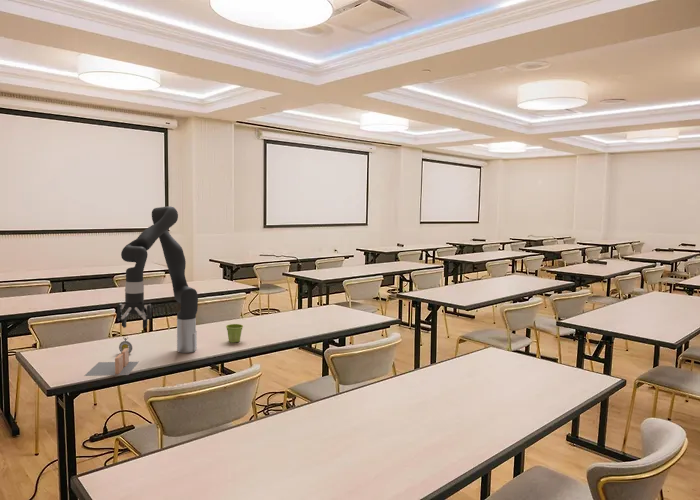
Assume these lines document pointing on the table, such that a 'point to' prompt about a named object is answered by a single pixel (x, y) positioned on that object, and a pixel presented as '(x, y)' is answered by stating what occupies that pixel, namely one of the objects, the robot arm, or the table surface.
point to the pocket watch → (125, 345)
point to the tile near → (118, 363)
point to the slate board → (110, 369)
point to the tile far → (125, 356)
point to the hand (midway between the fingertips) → (134, 327)
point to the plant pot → (234, 332)
